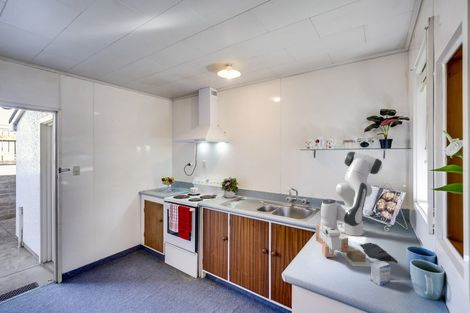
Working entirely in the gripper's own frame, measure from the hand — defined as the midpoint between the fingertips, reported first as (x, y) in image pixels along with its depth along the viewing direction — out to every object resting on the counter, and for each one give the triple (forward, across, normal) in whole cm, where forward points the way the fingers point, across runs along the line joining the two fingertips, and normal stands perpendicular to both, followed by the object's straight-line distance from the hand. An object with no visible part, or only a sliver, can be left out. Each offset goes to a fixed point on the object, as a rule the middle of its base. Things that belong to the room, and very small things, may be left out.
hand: (328, 250), depth 129 cm
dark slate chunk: (+5, -6, +32) cm, 33 cm away
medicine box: (+4, +22, +16) cm, 28 cm away
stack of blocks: (+5, -16, +9) cm, 19 cm away
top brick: (+2, 0, 0) cm, 2 cm away
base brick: (+3, +2, +15) cm, 16 cm away
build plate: (+4, +2, +15) cm, 16 cm away
